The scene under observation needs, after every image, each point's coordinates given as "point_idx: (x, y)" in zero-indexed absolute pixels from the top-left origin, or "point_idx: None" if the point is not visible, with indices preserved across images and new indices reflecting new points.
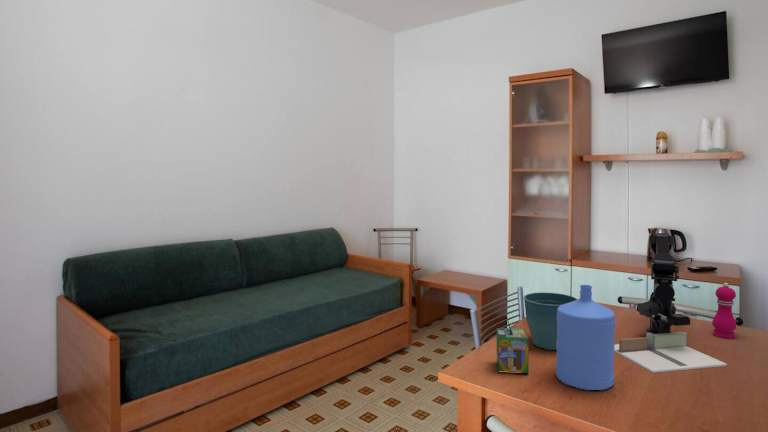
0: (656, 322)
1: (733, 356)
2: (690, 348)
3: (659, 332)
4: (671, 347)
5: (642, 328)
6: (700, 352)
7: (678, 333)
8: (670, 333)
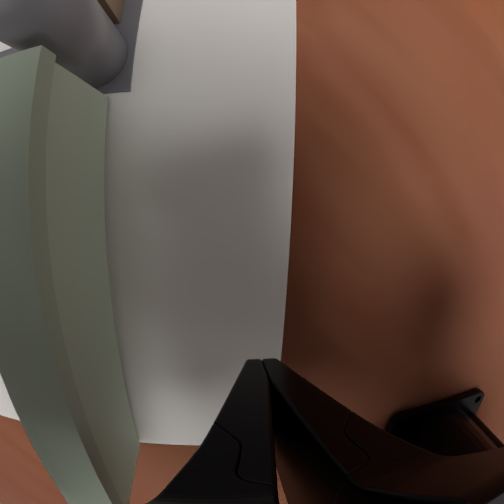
0: (364, 481)
1: (23, 490)
2: None
3: (274, 388)
4: None
5: (500, 383)
6: (8, 416)
7: (64, 479)
8: (47, 413)
